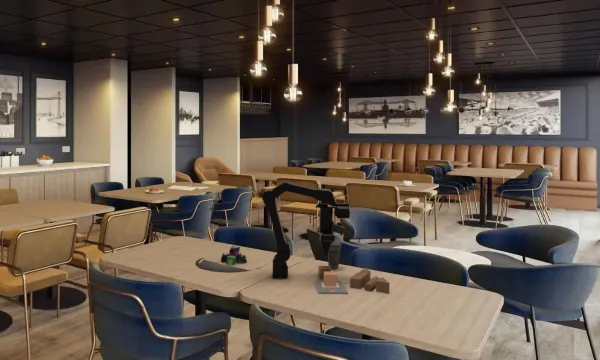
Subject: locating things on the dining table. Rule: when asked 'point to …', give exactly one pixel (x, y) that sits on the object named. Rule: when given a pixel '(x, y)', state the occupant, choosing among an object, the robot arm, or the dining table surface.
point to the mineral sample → (229, 258)
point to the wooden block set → (369, 282)
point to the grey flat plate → (330, 288)
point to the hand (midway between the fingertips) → (325, 252)
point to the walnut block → (322, 271)
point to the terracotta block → (330, 278)
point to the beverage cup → (334, 254)
